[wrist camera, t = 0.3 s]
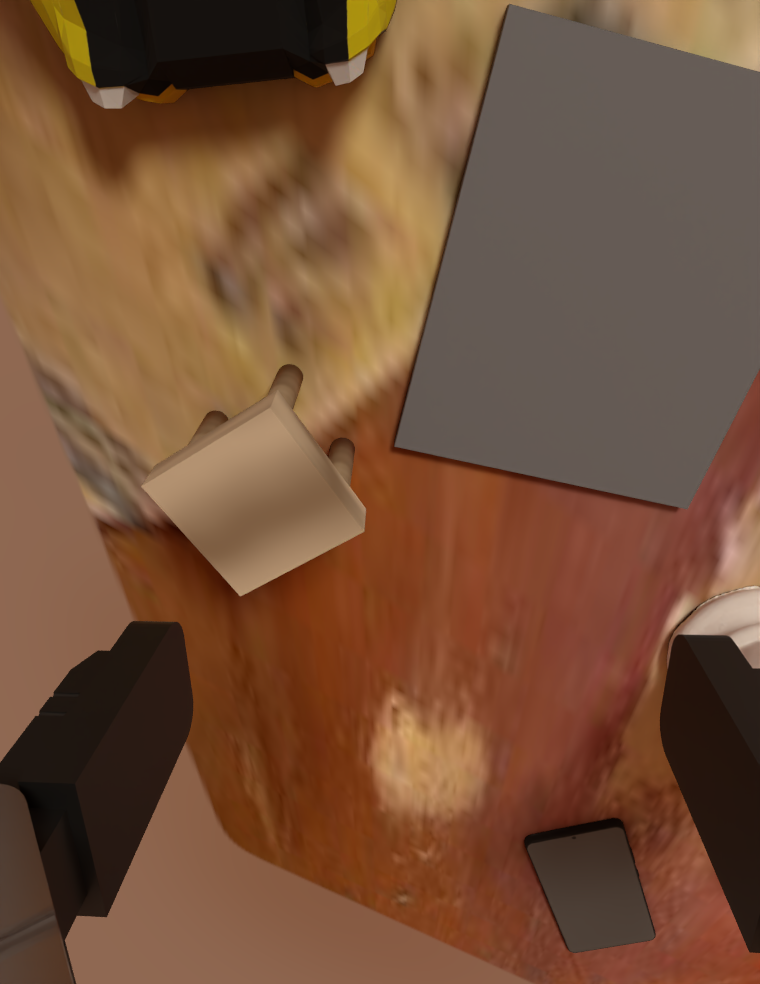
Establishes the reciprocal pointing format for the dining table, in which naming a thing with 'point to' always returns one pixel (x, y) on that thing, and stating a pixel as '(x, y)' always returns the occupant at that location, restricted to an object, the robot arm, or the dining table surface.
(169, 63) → the gaming controller
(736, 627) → the cherub figurine
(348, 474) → the stool
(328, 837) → the dining table surface
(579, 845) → the smartphone
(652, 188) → the mat
